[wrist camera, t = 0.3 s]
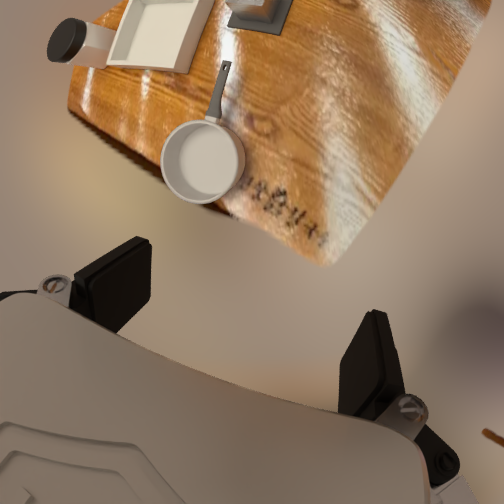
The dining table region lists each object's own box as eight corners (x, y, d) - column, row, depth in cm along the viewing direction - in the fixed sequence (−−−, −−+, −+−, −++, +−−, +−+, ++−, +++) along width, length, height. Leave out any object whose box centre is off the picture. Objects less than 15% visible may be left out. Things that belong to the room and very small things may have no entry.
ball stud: (244, -12, 28) (236, -22, 24) (294, -4, 27) (291, -16, 23) (228, 27, 31) (219, 18, 28) (279, 35, 30) (274, 25, 27)
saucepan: (277, 79, 33) (270, 69, 28) (237, 206, 42) (224, 215, 37) (204, 64, 35) (187, 55, 30) (172, 183, 43) (153, 190, 38)
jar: (116, 21, 33) (72, 7, 23) (129, 46, 35) (82, 33, 24) (86, 51, 37) (42, 45, 26) (97, 77, 39) (49, 73, 28)
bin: (146, 2, 31) (132, -6, 27) (214, 0, 30) (203, -11, 25) (122, 68, 37) (105, 64, 33) (187, 73, 36) (173, 68, 32)
